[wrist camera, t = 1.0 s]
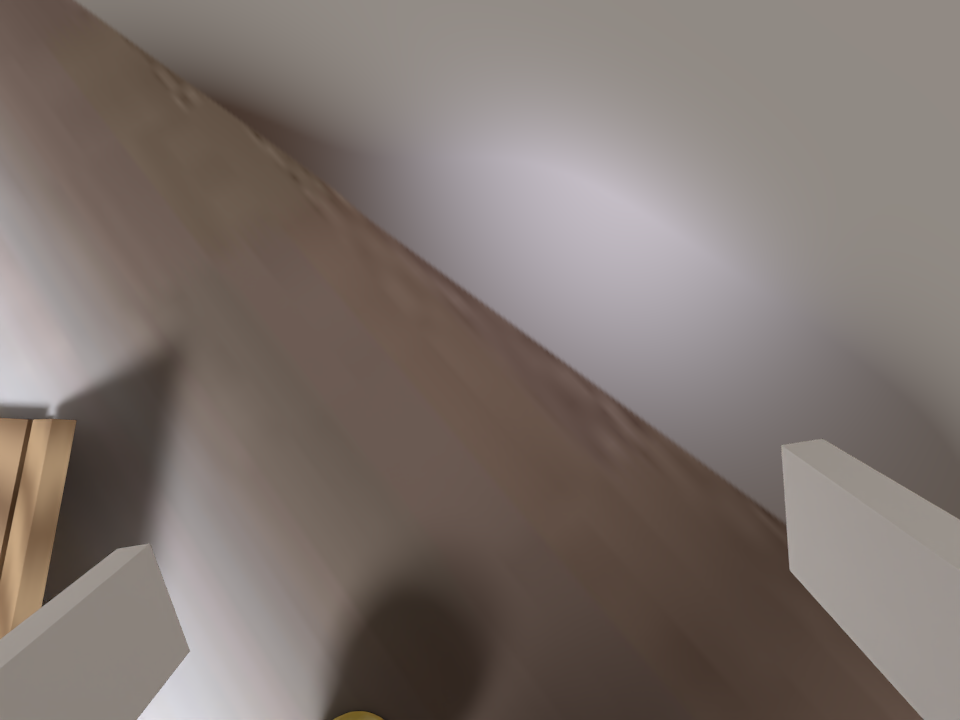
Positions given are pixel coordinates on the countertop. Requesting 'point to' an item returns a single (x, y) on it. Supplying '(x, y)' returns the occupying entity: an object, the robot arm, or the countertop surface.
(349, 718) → the plant pot
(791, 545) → the robot arm
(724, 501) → the countertop surface
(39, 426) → the board
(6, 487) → the laid floor
